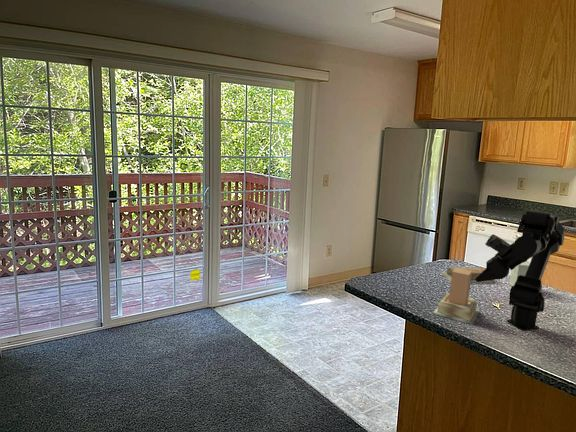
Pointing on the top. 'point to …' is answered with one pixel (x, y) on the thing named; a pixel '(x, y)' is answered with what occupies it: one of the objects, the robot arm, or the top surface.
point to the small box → (518, 272)
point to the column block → (460, 286)
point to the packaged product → (475, 271)
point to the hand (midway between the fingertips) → (479, 277)
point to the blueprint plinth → (457, 310)
